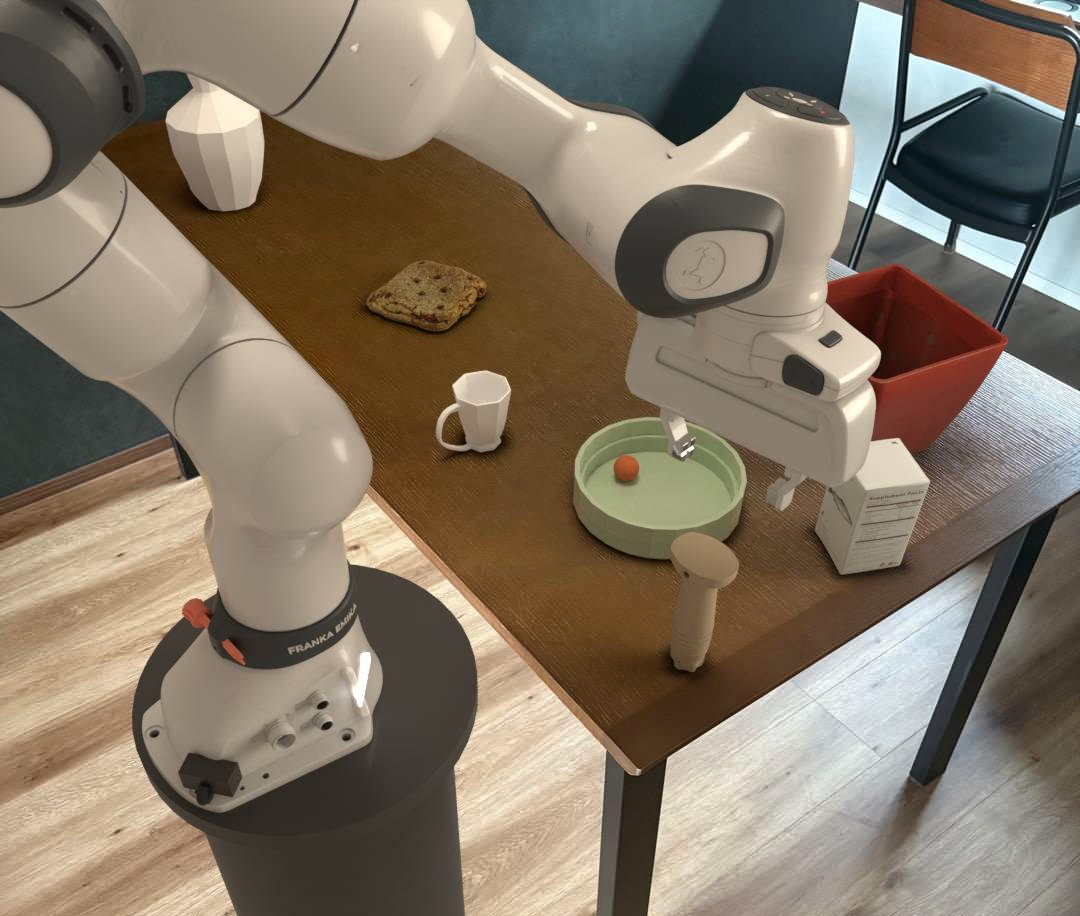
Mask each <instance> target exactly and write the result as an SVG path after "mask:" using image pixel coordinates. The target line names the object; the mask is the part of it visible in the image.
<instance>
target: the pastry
mask: <svg viewBox="0 0 1080 916" xmlns="http://www.w3.org/2000/svg"><path fill="white" fill-rule="evenodd" d="M486 288H487V282H485V281H484V280H483V279H482V278H480V277H479V276H477V275H476V274H474V273H473V274H472V273H471V272H468V271H467V270H464V269H463V268H460V267H457V266H452V265H446V264H443V263H439V262H437V261H433V260H425V259H424V260H417V261H415V262H413V263H410V264H408V265H407V266H406V267H405V268H403V269H402V270H401V271H399V272H398V273H396V275H395V276H394V277H392V279H390V280H389V281H388V282H387V283H383V285H382V286H380V287H379V288H378V289H376V290H374V291H372V292H371V293H370V294H369V295H368V296H367V299H366V301H365V304H366V306H367V308H368V310H370V311H371V312H372V313H375V314H377V315H380V316H382V317H384V318H386V319H389V320H391V321H392V322H393V321H394V322H399V323H401V324H407V325H411V326H413V327H415V328H416V327H419V329H422V330H425V331H427V332H428V331H429V332H443V331H446V330H448V329H450V328H451V327H452V326H453V325H454V324H455V323H457V322H458V320H459V319H460V318H461V317H464V316H466V315H468V314H469V313H470V312H471V310H472V308H474V307H475V306H476V305H477V300H476V299H477V298H482V297H484V296H485V295H486Z"/></svg>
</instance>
